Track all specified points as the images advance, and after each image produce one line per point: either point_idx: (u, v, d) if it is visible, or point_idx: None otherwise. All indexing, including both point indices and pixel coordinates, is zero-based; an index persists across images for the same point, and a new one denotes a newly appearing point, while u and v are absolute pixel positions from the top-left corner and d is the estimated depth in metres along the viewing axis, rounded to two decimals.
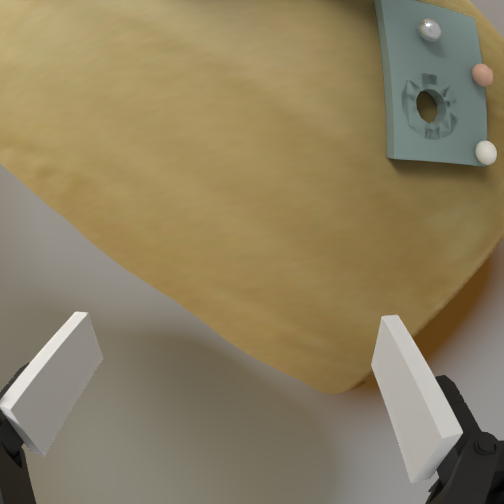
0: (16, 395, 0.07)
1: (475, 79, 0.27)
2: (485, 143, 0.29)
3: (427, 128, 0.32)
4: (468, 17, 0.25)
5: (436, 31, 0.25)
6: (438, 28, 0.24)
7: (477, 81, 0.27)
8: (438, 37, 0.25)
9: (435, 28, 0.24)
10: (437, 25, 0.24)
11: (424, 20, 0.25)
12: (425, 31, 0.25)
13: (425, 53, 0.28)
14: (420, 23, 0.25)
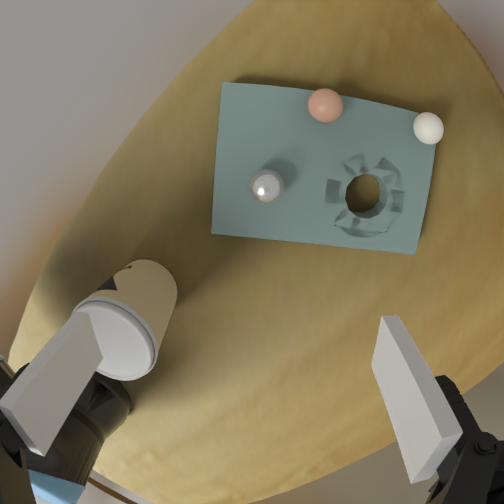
0: (16, 395, 0.07)
1: None
2: (420, 133, 0.25)
3: (391, 207, 0.30)
4: (223, 94, 0.27)
5: (273, 188, 0.27)
6: (268, 185, 0.27)
7: (336, 119, 0.26)
8: (280, 182, 0.27)
9: (268, 190, 0.27)
10: (262, 183, 0.27)
11: (255, 198, 0.28)
12: (273, 201, 0.28)
13: (297, 189, 0.30)
14: (259, 202, 0.28)
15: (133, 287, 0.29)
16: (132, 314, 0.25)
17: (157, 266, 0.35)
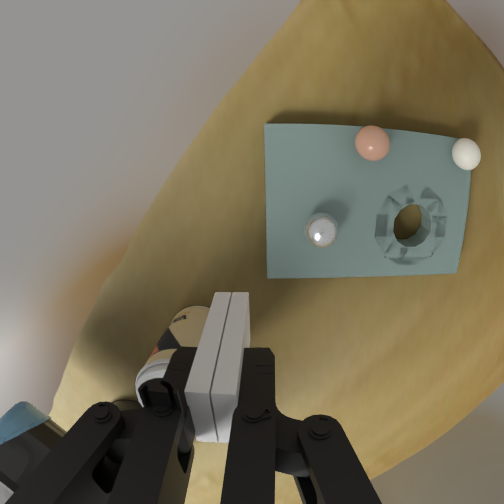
0: (206, 377, 0.09)
1: None
2: (460, 161, 0.24)
3: (435, 233, 0.29)
4: (267, 136, 0.27)
5: (330, 233, 0.27)
6: (326, 231, 0.27)
7: None
8: (336, 226, 0.27)
9: (326, 236, 0.27)
10: (320, 230, 0.27)
11: (312, 243, 0.28)
12: None
13: (348, 227, 0.30)
14: (316, 246, 0.28)
15: (197, 342, 0.29)
16: None
17: None
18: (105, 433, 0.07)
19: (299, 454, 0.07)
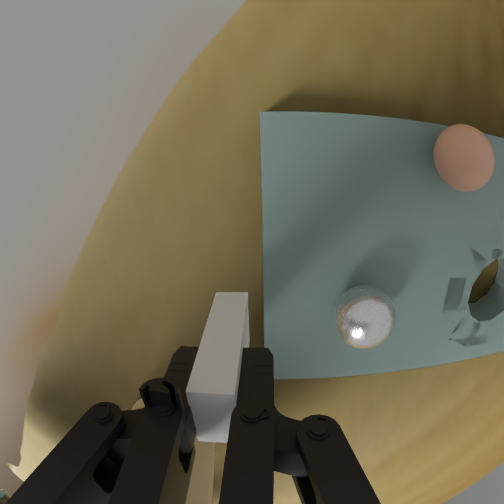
0: (207, 377, 0.09)
1: None
2: None
3: None
4: (266, 137, 0.13)
5: (383, 330, 0.13)
6: (377, 328, 0.13)
7: None
8: (393, 315, 0.14)
9: (376, 336, 0.13)
10: (367, 326, 0.13)
11: (348, 344, 0.14)
12: (379, 344, 0.14)
13: (405, 302, 0.16)
14: None
15: None
16: None
17: None
18: (106, 433, 0.07)
19: (298, 454, 0.07)
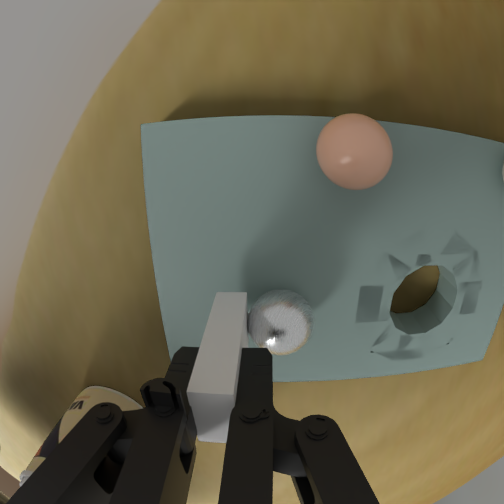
0: (208, 377, 0.09)
1: None
2: None
3: (460, 309, 0.16)
4: (146, 147, 0.14)
5: (312, 324, 0.14)
6: (310, 325, 0.14)
7: None
8: (310, 308, 0.15)
9: (310, 332, 0.14)
10: (302, 328, 0.14)
11: (282, 354, 0.14)
12: None
13: None
14: None
15: None
16: None
17: (117, 398, 0.22)
18: (107, 434, 0.07)
19: (296, 454, 0.07)
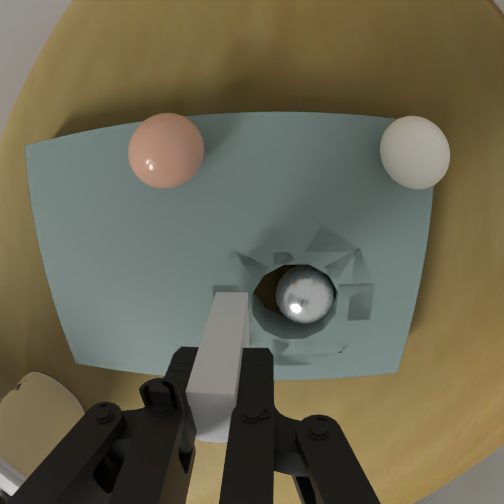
0: (207, 377, 0.09)
1: None
2: (397, 170, 0.11)
3: (347, 314, 0.16)
4: (29, 165, 0.14)
5: (332, 296, 0.16)
6: (330, 296, 0.16)
7: (193, 175, 0.13)
8: (331, 282, 0.17)
9: (330, 303, 0.16)
10: (323, 298, 0.16)
11: (305, 321, 0.16)
12: None
13: (164, 306, 0.17)
14: None
15: (9, 426, 0.16)
16: (4, 466, 0.13)
17: (48, 383, 0.23)
18: (106, 433, 0.07)
19: (297, 454, 0.07)
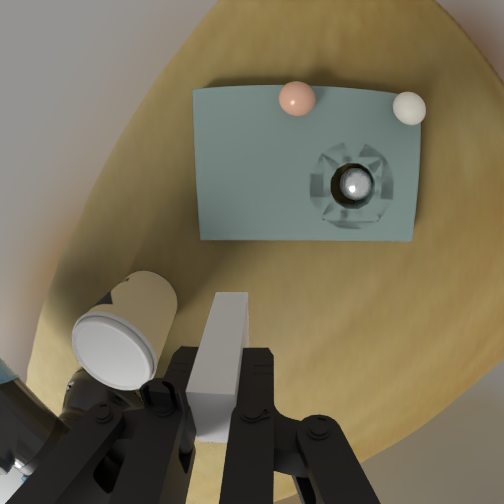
0: (207, 377, 0.09)
1: None
2: (401, 114, 0.24)
3: (380, 195, 0.29)
4: (195, 100, 0.27)
5: (370, 184, 0.29)
6: (369, 182, 0.28)
7: None
8: None
9: (369, 186, 0.28)
10: (366, 182, 0.28)
11: (356, 196, 0.29)
12: None
13: (280, 187, 0.29)
14: (355, 199, 0.29)
15: (129, 299, 0.29)
16: (127, 326, 0.26)
17: (154, 276, 0.36)
18: (106, 433, 0.07)
19: (297, 454, 0.07)
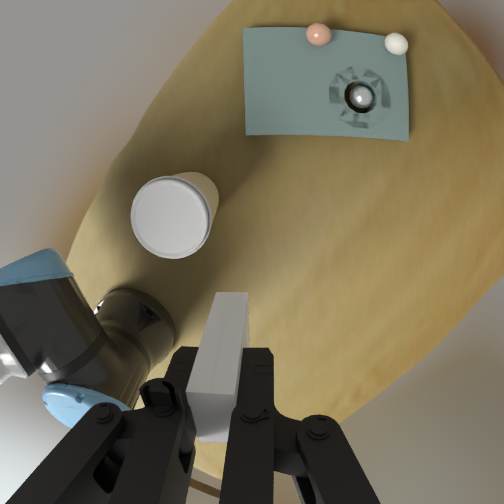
0: (207, 377, 0.09)
1: (325, 44, 0.32)
2: (390, 46, 0.31)
3: (381, 104, 0.36)
4: (244, 35, 0.33)
5: (371, 96, 0.35)
6: (370, 94, 0.35)
7: None
8: None
9: (371, 97, 0.35)
10: (368, 93, 0.35)
11: (361, 102, 0.36)
12: (369, 105, 0.36)
13: (307, 95, 0.36)
14: (361, 106, 0.36)
15: (186, 175, 0.36)
16: (190, 184, 0.32)
17: (200, 174, 0.42)
18: (106, 433, 0.07)
19: (297, 454, 0.07)
